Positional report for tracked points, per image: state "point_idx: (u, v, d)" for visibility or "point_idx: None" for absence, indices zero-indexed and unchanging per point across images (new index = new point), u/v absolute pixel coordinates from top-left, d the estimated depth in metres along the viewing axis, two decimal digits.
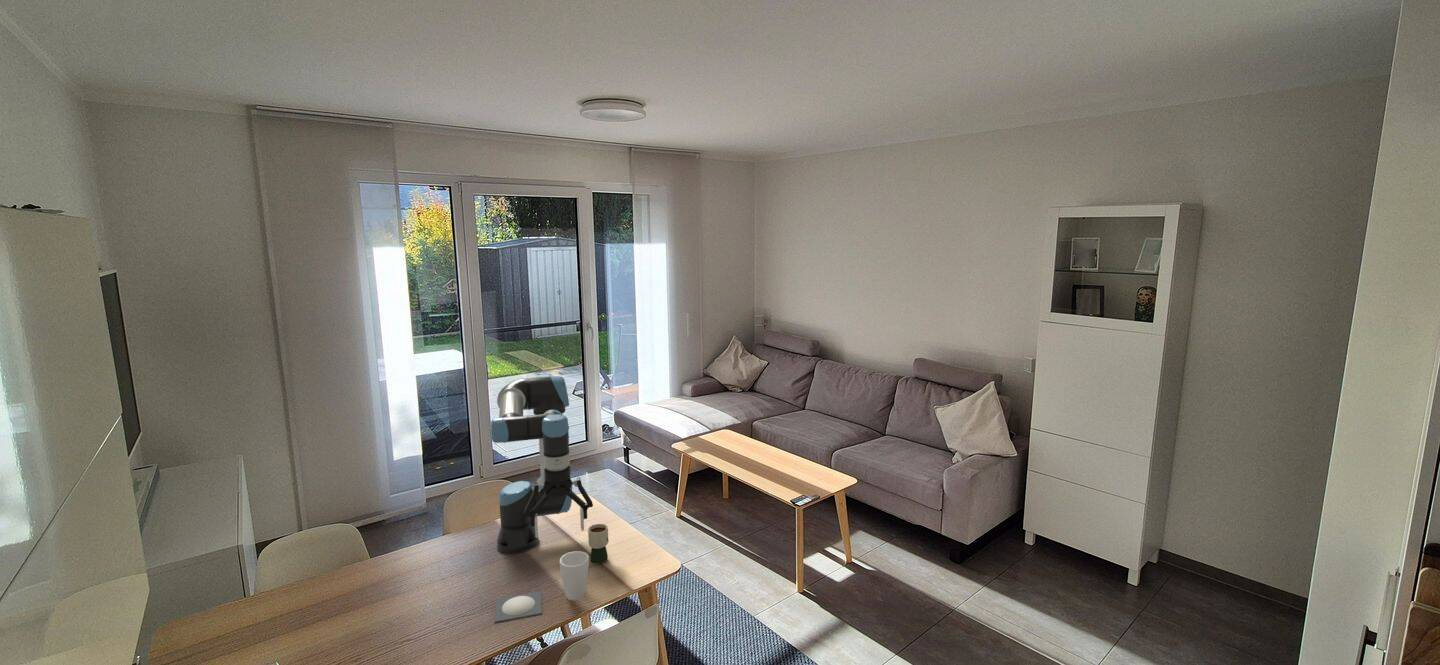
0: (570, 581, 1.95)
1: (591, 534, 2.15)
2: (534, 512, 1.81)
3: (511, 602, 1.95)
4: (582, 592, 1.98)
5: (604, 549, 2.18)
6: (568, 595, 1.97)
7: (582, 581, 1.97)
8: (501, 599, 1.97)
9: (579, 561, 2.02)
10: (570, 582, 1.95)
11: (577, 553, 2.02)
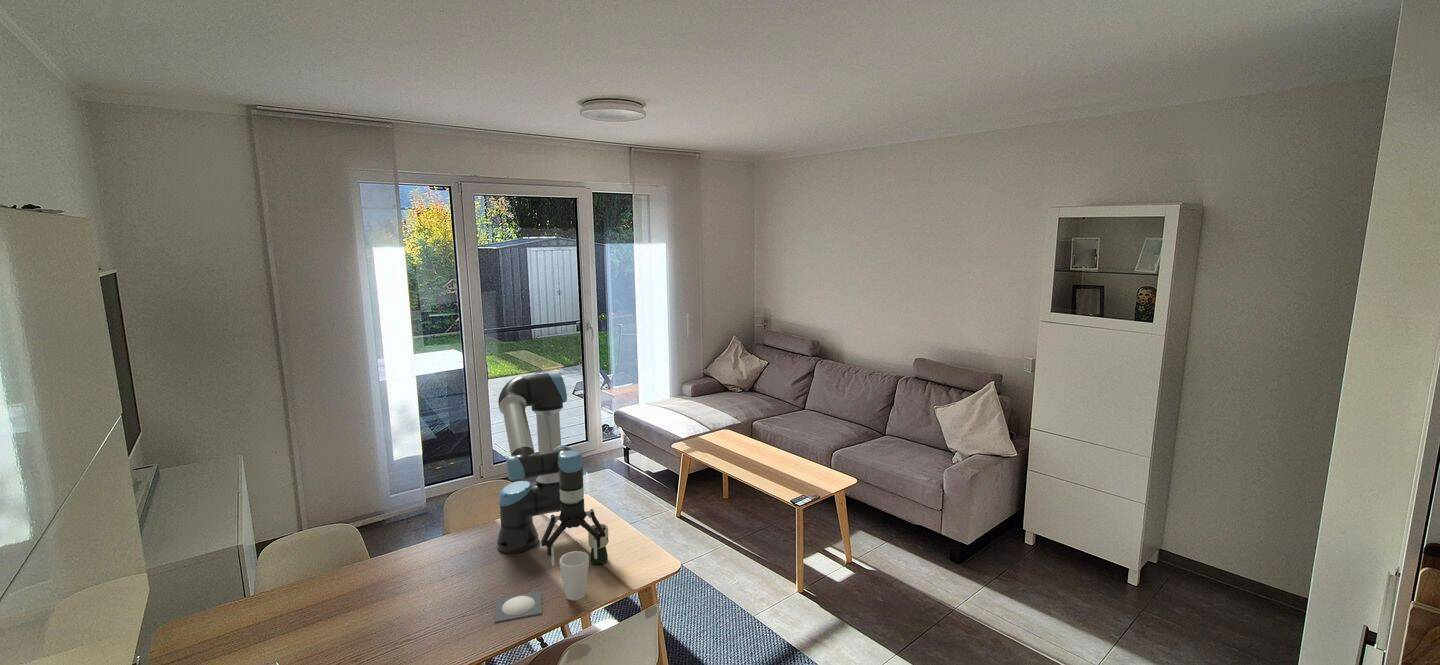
0: (570, 581, 1.95)
1: (591, 534, 2.15)
2: (551, 543, 1.93)
3: (511, 602, 1.95)
4: (582, 592, 1.98)
5: (604, 549, 2.18)
6: (568, 595, 1.97)
7: (582, 581, 1.97)
8: (501, 599, 1.97)
9: (579, 561, 2.02)
10: (570, 582, 1.95)
11: (577, 553, 2.02)
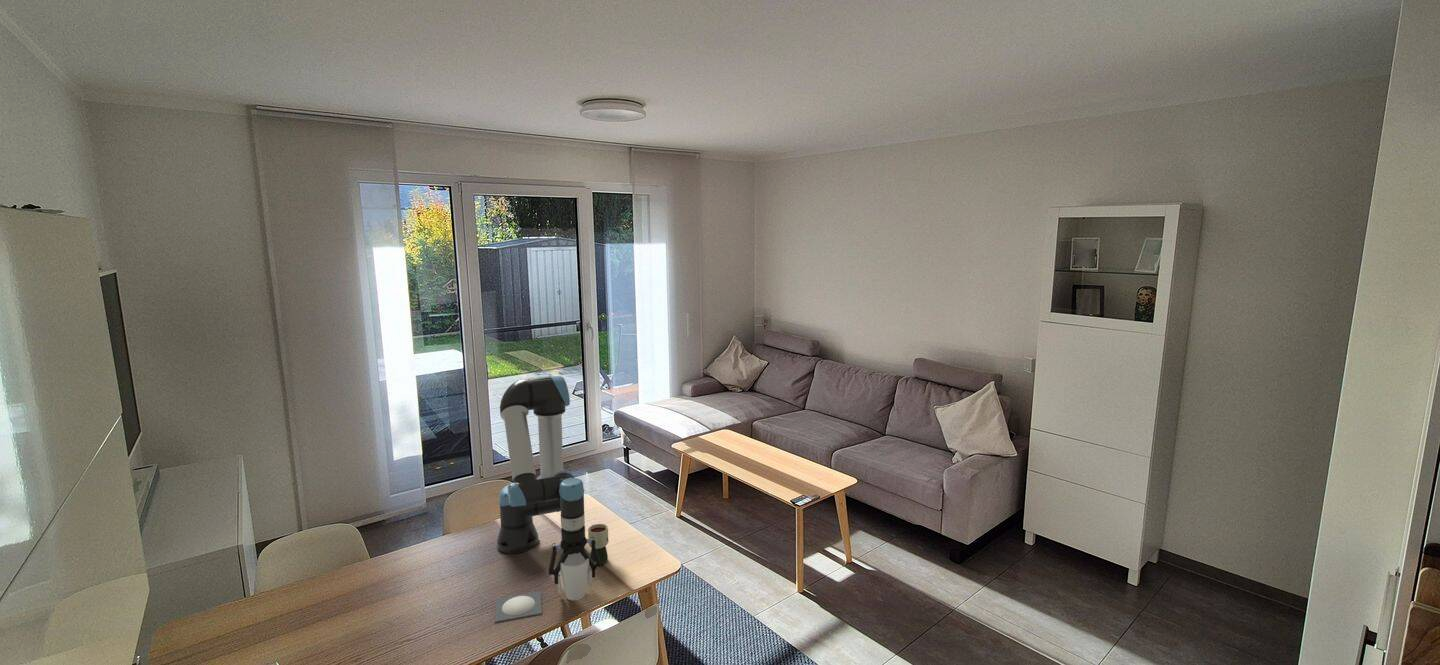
0: (570, 581, 1.95)
1: (591, 534, 2.15)
2: (557, 571, 1.96)
3: (511, 602, 1.95)
4: (582, 592, 1.98)
5: (604, 549, 2.18)
6: (568, 595, 1.97)
7: (582, 581, 1.97)
8: (501, 599, 1.97)
9: (579, 561, 2.02)
10: (570, 582, 1.95)
11: None
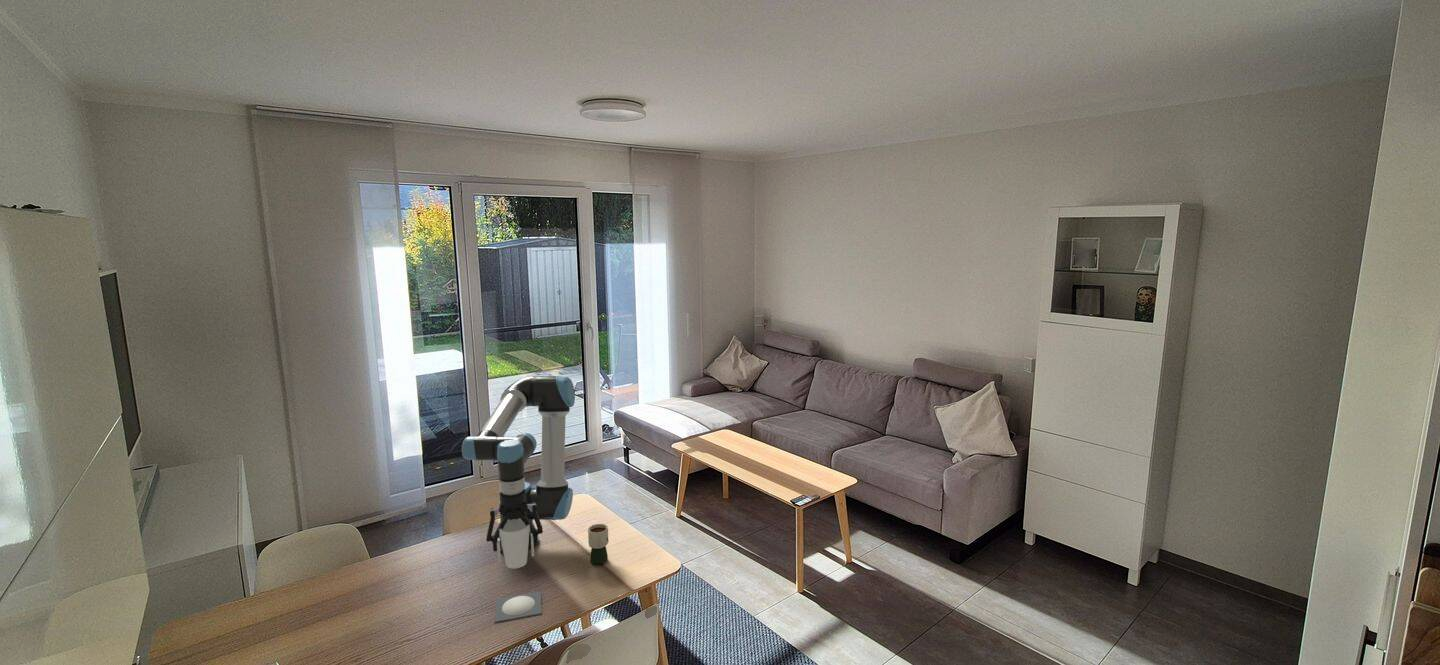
0: (509, 548, 1.86)
1: (591, 534, 2.15)
2: (495, 538, 1.86)
3: (511, 602, 1.95)
4: (523, 560, 1.89)
5: (604, 549, 2.18)
6: (508, 563, 1.88)
7: (522, 548, 1.88)
8: (501, 599, 1.97)
9: (521, 528, 1.93)
10: (509, 549, 1.86)
11: (518, 520, 1.93)
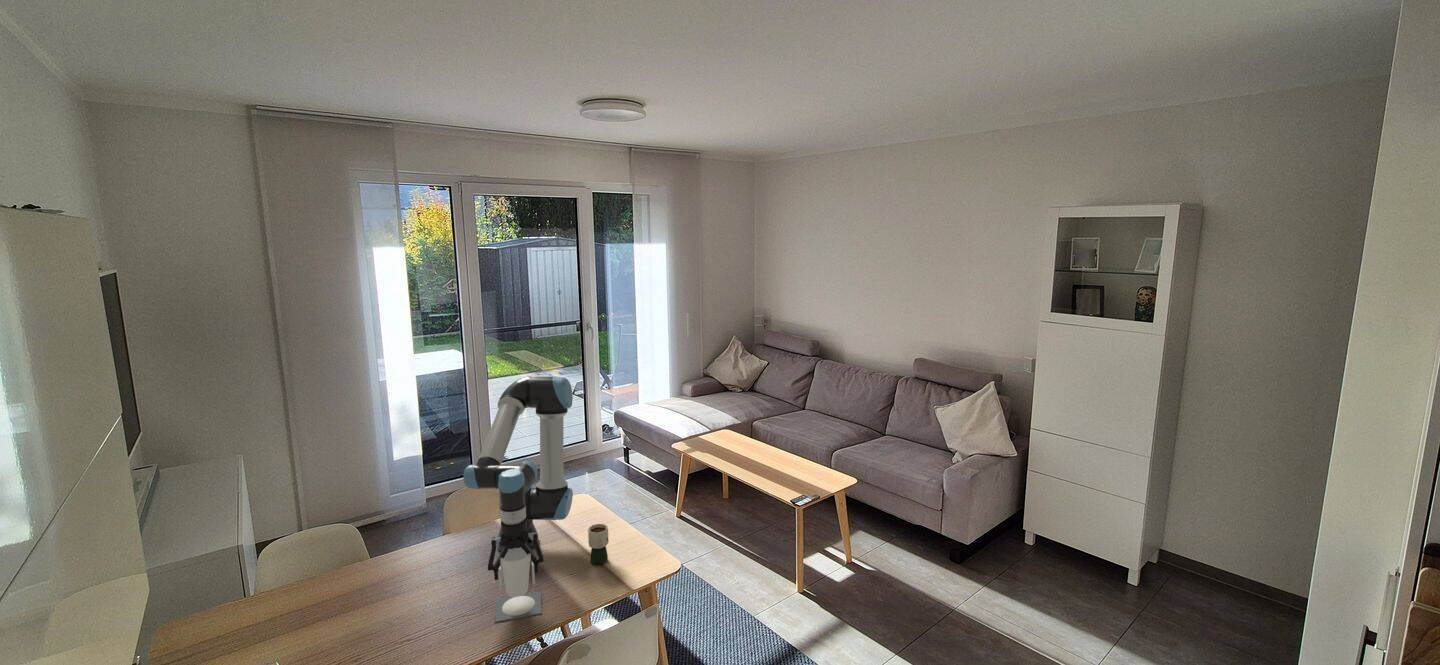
0: (510, 577, 1.87)
1: (591, 534, 2.15)
2: (497, 566, 1.88)
3: (511, 602, 1.95)
4: (523, 588, 1.90)
5: (604, 549, 2.18)
6: (509, 591, 1.89)
7: (523, 577, 1.89)
8: (501, 599, 1.97)
9: (522, 556, 1.95)
10: (510, 578, 1.87)
11: (519, 548, 1.94)
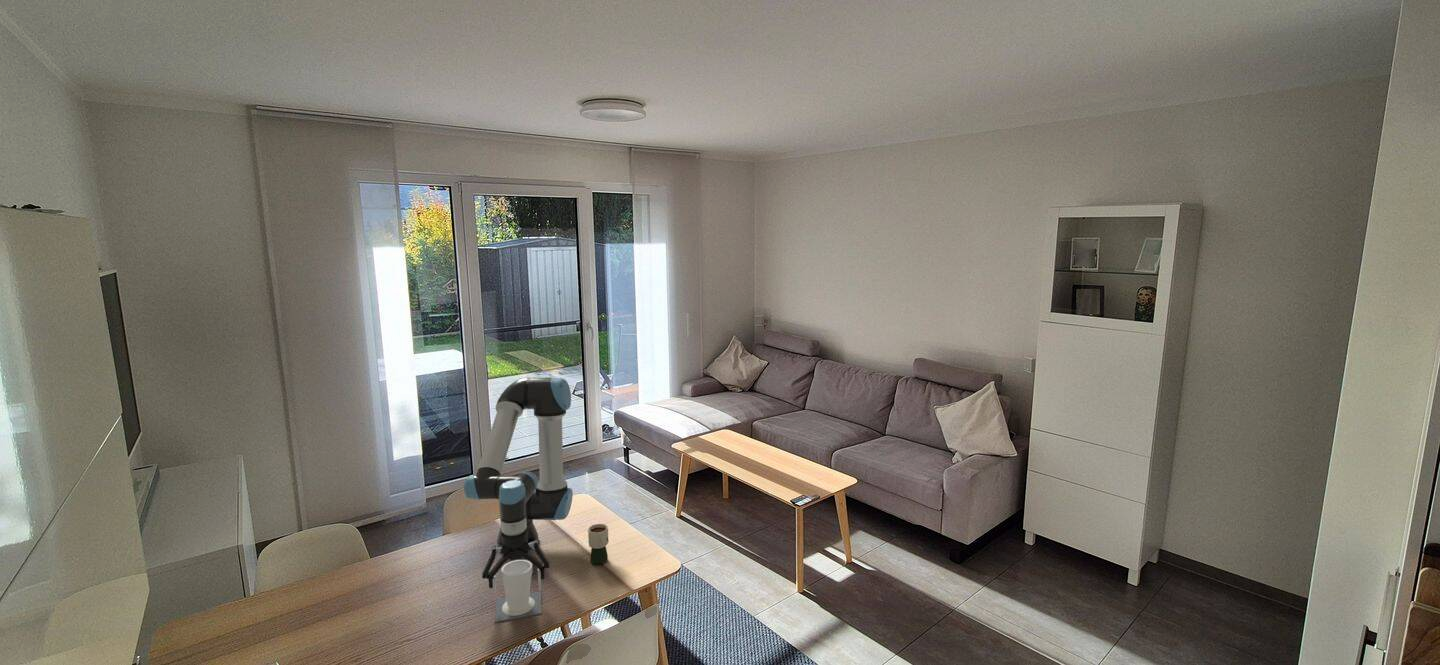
0: (511, 591, 1.89)
1: (591, 534, 2.15)
2: (492, 575, 1.88)
3: None
4: (524, 602, 1.91)
5: (604, 549, 2.18)
6: (510, 605, 1.91)
7: (524, 591, 1.90)
8: (501, 599, 1.97)
9: (523, 570, 1.96)
10: (511, 592, 1.89)
11: (521, 562, 1.96)
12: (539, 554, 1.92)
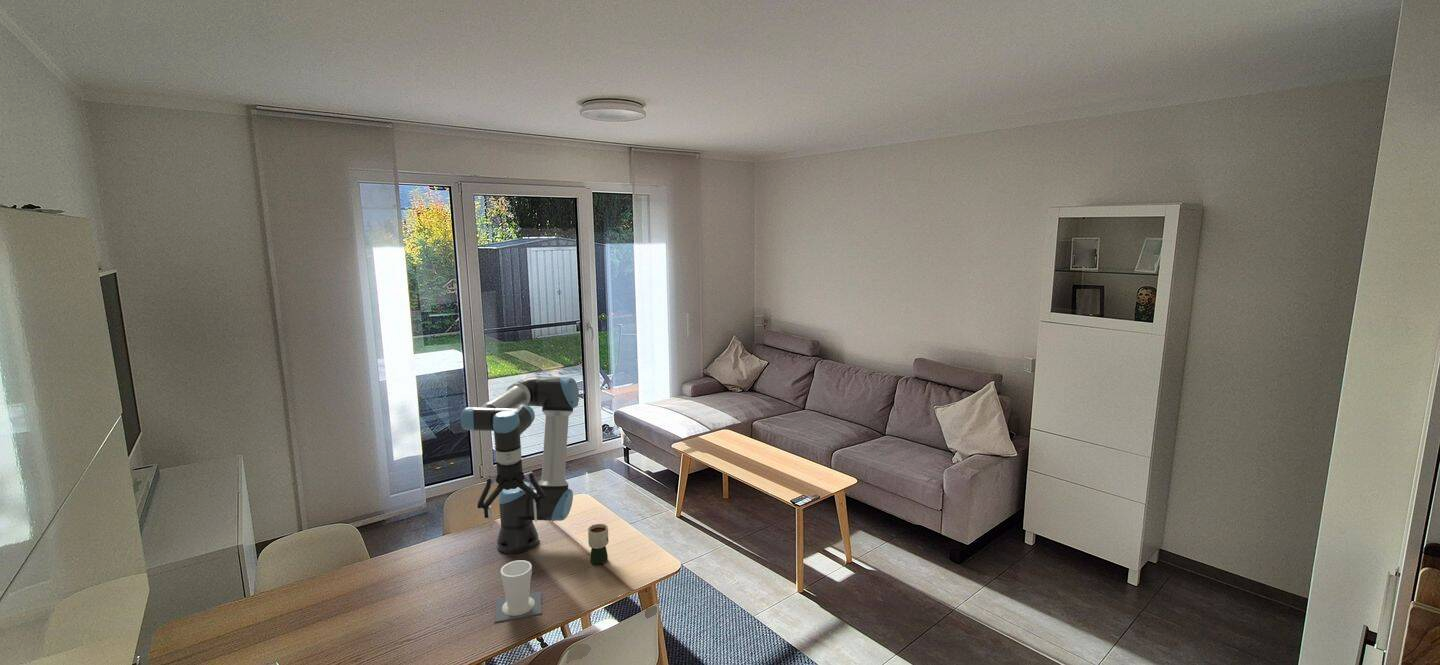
0: (511, 591, 1.88)
1: (591, 534, 2.15)
2: (487, 505, 1.88)
3: None
4: (524, 603, 1.91)
5: (604, 549, 2.18)
6: (509, 606, 1.91)
7: (524, 591, 1.90)
8: (501, 599, 1.97)
9: (522, 570, 1.96)
10: (511, 592, 1.89)
11: (520, 562, 1.95)
12: (534, 484, 1.91)
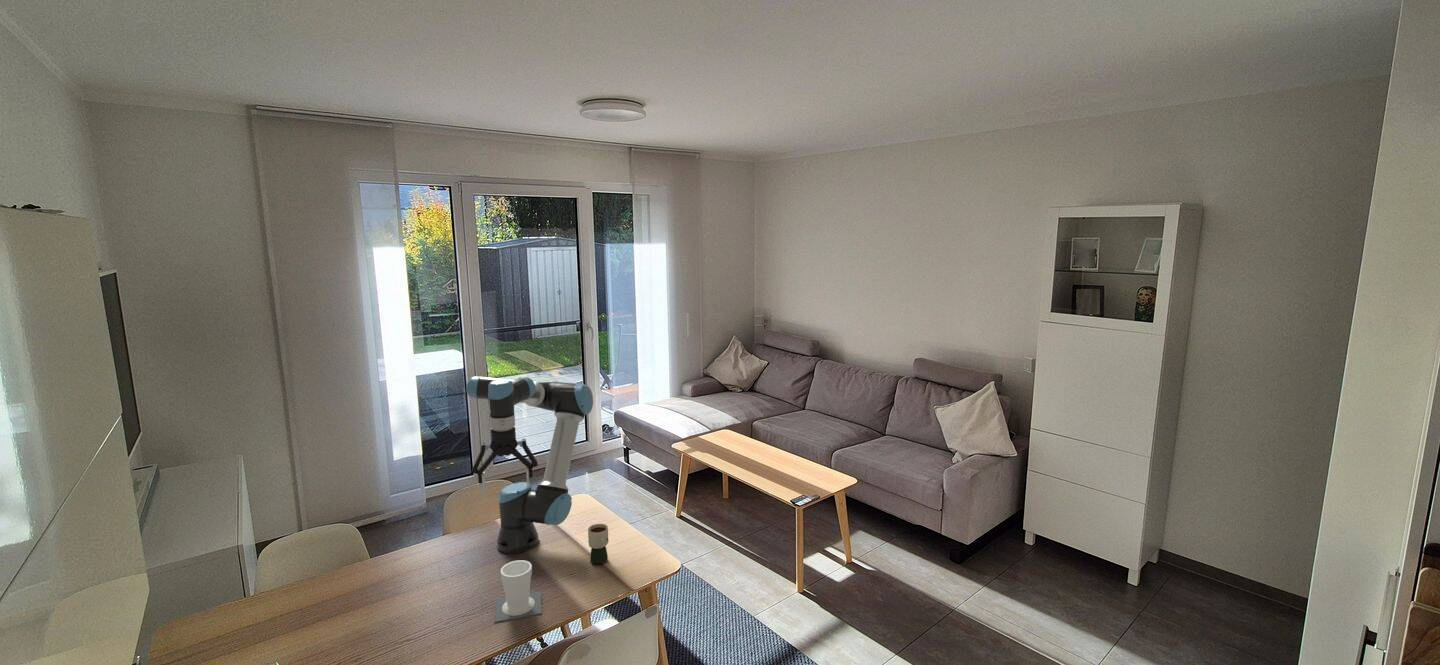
0: (511, 591, 1.88)
1: (591, 534, 2.15)
2: (481, 470, 1.94)
3: None
4: (524, 603, 1.91)
5: (604, 549, 2.18)
6: (509, 606, 1.91)
7: (524, 591, 1.90)
8: (501, 599, 1.97)
9: (522, 570, 1.96)
10: (511, 593, 1.89)
11: (520, 562, 1.95)
12: (527, 452, 1.98)
